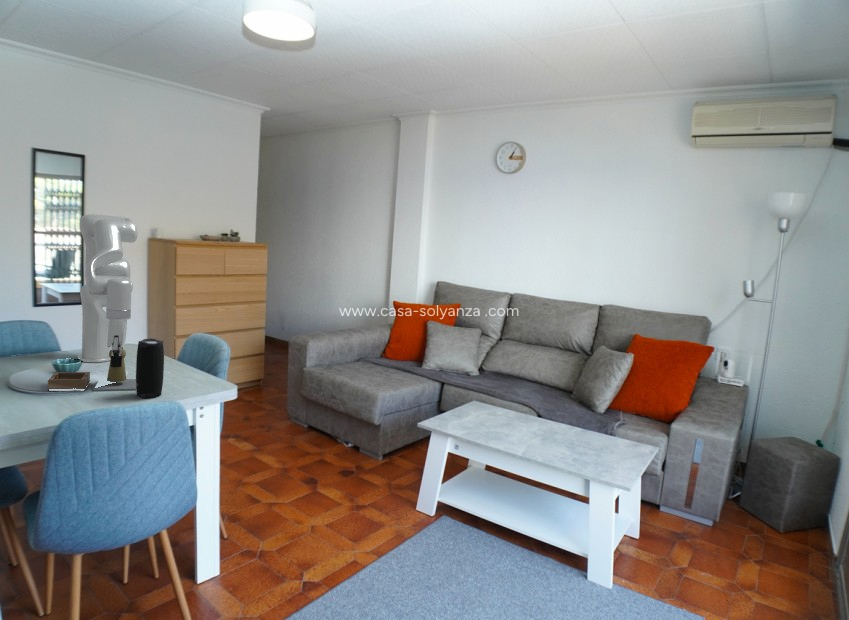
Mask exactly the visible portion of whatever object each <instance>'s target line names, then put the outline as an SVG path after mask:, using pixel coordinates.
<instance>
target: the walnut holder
mask: <svg viewBox="0 0 849 620" xmlns="http://www.w3.org/2000/svg"><path fill="white" fill-rule="evenodd" d="M89 382H90V383H91V372H90V371H72V372H71V371H68V372H66V371H65V372H63V371H62V372H60V371H59V372H58V371H57V372H54V373H53V374H52V375H50V377H49V378H48V380H47V390H48V389H73V388H74V389H75V388H76V389H85V388H86V386H87V385H88V383H89ZM90 383H89V384H90ZM88 386H89V385H88ZM86 389H87V388H86Z"/></svg>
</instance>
